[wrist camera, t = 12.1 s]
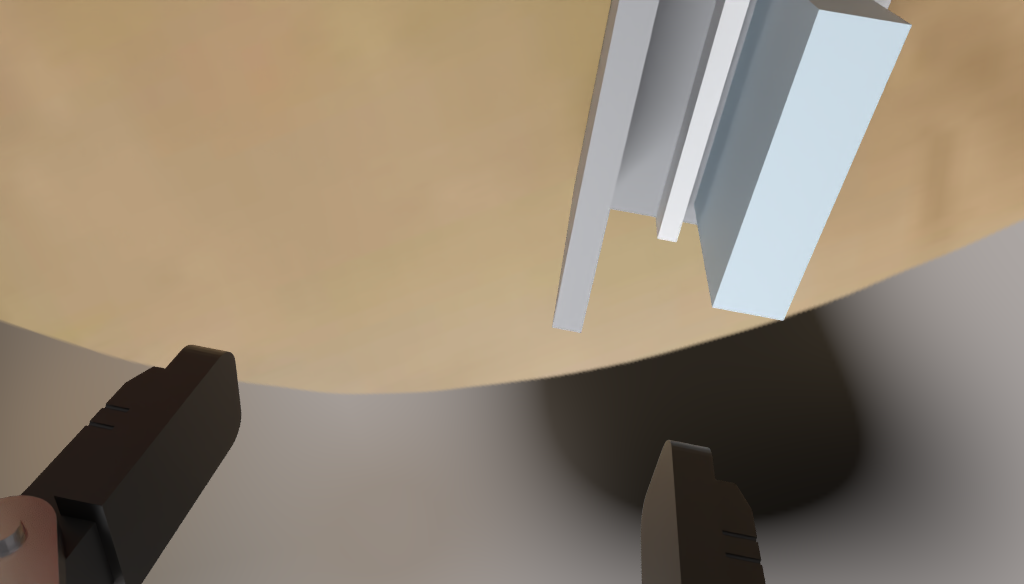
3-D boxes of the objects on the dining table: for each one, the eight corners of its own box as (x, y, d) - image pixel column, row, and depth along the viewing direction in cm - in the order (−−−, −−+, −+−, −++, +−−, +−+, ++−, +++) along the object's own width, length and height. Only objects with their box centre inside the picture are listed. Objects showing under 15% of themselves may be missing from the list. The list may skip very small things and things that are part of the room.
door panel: (768, -36, 31) (819, 9, 23) (835, -25, 31) (911, 24, 23) (693, 204, 38) (712, 307, 29) (748, 214, 38) (783, 320, 29)
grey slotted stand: (633, -109, 32) (636, -82, 20) (896, -67, 31) (1054, -13, 20) (574, 186, 40) (552, 327, 29) (781, 224, 40) (844, 383, 28)
